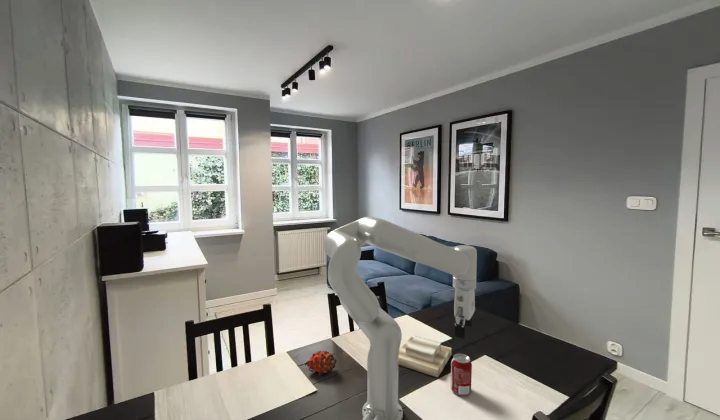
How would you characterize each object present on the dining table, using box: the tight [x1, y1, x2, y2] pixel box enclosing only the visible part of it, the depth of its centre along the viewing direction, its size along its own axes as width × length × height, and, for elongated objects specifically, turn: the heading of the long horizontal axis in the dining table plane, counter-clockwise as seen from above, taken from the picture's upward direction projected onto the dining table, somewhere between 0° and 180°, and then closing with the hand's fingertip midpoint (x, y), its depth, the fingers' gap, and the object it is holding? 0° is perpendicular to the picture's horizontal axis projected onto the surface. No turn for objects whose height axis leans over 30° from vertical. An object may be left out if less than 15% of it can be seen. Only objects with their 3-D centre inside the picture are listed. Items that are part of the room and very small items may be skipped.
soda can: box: [450, 353, 473, 397], centre depth 108 cm, size 7×7×12 cm
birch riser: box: [398, 335, 452, 378], centre depth 128 cm, size 18×18×6 cm
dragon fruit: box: [304, 350, 337, 376], centre depth 119 cm, size 8×8×12 cm
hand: (463, 331), depth 107 cm, fingers open, 9 cm apart
